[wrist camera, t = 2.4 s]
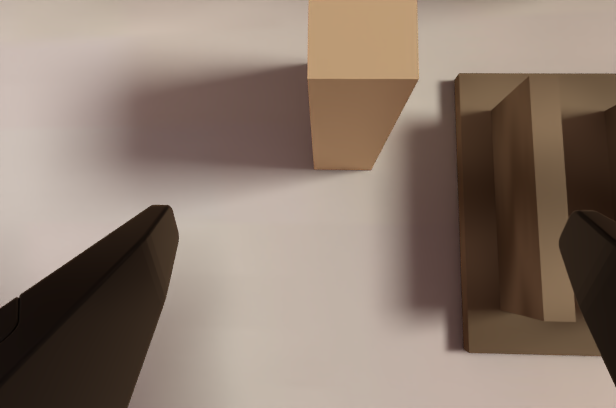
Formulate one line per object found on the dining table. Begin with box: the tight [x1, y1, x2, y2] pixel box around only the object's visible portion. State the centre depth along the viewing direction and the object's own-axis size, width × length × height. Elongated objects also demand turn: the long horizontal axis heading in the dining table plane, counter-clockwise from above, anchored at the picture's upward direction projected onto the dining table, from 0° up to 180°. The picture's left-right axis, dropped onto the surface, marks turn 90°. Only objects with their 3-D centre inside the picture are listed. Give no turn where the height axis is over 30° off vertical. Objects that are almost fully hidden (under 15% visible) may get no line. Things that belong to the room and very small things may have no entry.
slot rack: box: [454, 73, 616, 356], centre depth 19 cm, size 14×10×5 cm
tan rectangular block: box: [307, 0, 419, 170], centre depth 17 cm, size 6×3×11 cm, turn 179°
